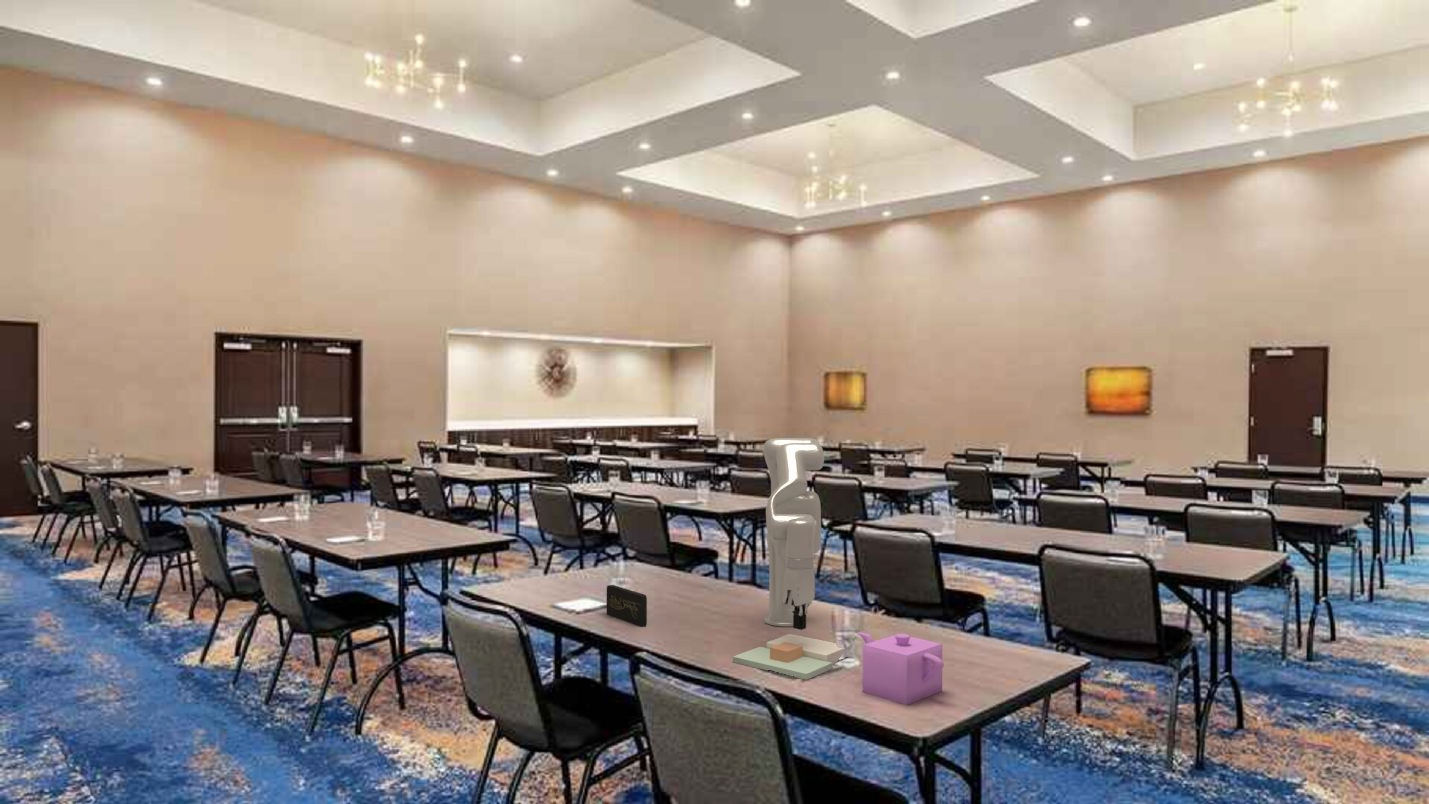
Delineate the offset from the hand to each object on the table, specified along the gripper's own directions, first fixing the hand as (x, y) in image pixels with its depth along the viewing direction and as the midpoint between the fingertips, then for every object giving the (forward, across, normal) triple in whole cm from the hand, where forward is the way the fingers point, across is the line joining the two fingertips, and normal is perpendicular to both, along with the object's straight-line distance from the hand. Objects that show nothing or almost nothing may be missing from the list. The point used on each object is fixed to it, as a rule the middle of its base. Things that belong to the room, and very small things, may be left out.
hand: (799, 628), depth 243 cm
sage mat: (+8, +9, 0) cm, 12 cm away
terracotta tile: (+6, +7, 0) cm, 10 cm away
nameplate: (+9, +2, -66) cm, 67 cm away
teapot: (+8, +8, +34) cm, 36 cm away
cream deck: (+8, -3, 0) cm, 9 cm away
